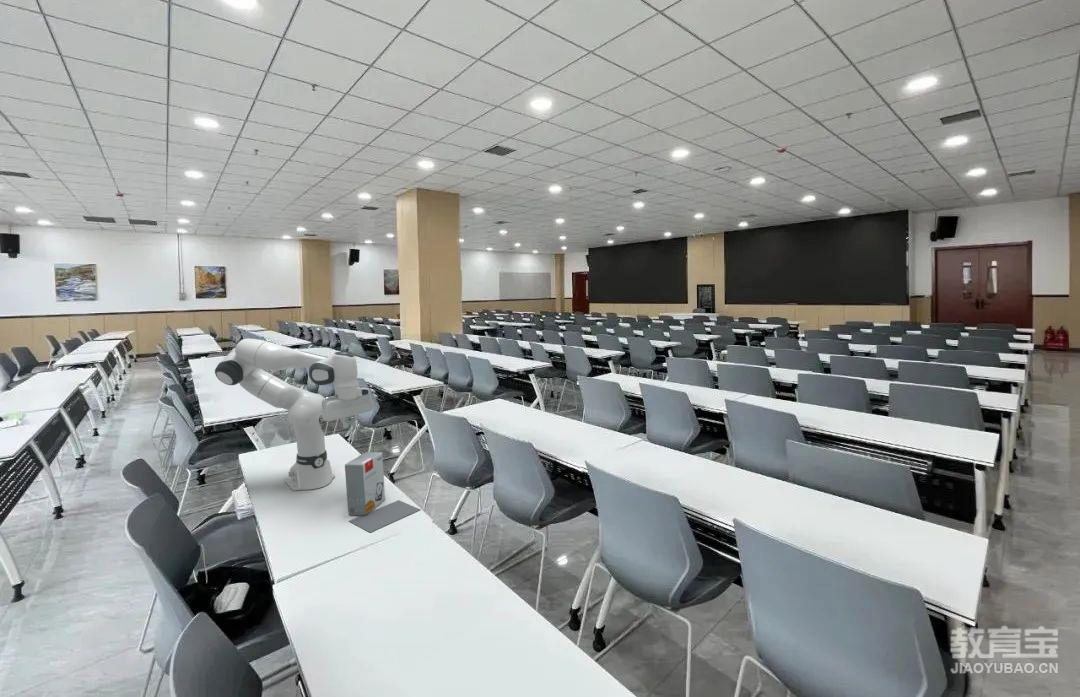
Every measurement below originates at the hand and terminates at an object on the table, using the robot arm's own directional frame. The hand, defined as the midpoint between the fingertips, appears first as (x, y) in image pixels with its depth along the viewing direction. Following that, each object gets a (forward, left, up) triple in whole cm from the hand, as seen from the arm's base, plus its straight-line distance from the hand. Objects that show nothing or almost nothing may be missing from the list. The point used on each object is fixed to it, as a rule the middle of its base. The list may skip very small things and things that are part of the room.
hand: (349, 426), depth 200 cm
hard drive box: (+9, 0, -31) cm, 32 cm away
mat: (+21, 0, -31) cm, 38 cm away
